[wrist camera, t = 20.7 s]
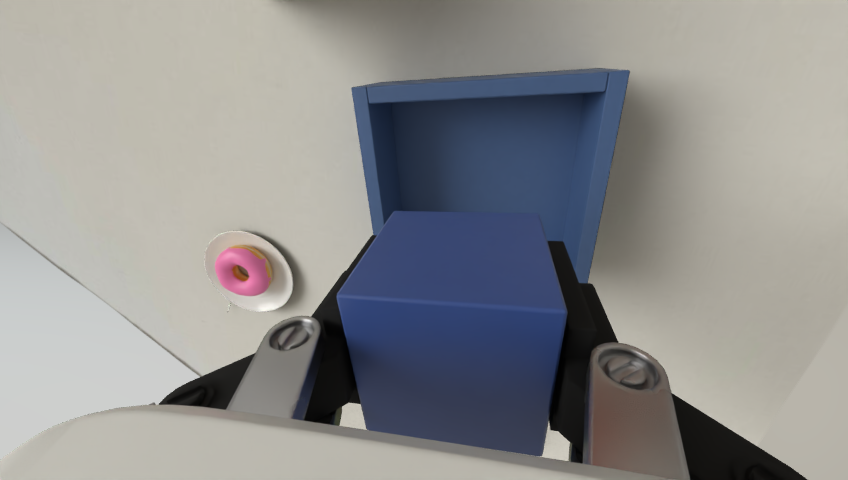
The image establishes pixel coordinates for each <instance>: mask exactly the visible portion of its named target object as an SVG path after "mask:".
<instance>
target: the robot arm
mask: <svg viewBox="0 0 848 480" xmlns="http://www.w3.org/2000/svg"><path fill="white" fill-rule="evenodd" d="M376 236H377V235H372V236H371V237H370V239H369V240H368V241H367V243H366V244H365V246H364V247H363V248H362V250H361V251H360V253H359V254H358V255H357V257H356V258H355V260H354V261H353V262H352V264H351V265H350V267H349V268H348V269H347V271H345V272H344V273H343V274H342V275H341V276H340V278H339V279H338V281H337V282H336V283H335V285H334V286H333V287H332V289H331V290H330V292H329V293H328V294H327V296H326V297H325V298H324V300H323V301H322V303H321V304H320V305H319V307H318V308H317V309H316V311H315V312H314V314H313V315H312V316H311V317H309V316H297V317H291V318H289V319H286V320H283V321H281V322H280V323H278V324H276V325H275V326H273V327H272V328H271V329H270V330H269V331H268V332H267V334H266V335H265V336H264V338H263V340H262V342H261V344H260V346H259V348H258V350H257V352H256V353H254V354H252V355H250V356H248V357H245V358H243V359H241V360H238V361H236V362H234V363H232V364H229V365H227V366H225V367H222V368H220V369H218V370H216V371H213V372H211V373H209V374H206V375H204V376H202V377H200V378H197V379H195V380H193V381H190V382H188V383H186V384H184V385H182V386H181V387H179V388H177V389H175V390H174V391H173V392H172V393H170V394H169V395H167V396H166V397H165V398H164V399H163V400H162V401H161V402H160V403H159V405H156V404H155V403H152V404H149V405H141V406H131V407H122V408H115V409H110V410H105V411H101V412H96V413H92V414H88V415H84V416H81V417H78V418H75V419H72V420H69V421H66V422H64V423H61V424H58V425H55V426H53V427H52V428H49V429H47V430H45V431H43V432H41V433H39V434H38V435H36V436H34V437H33V438H31V439H30V440H28V441H26V442H25V443H23V444H22V445H20V446H19V447H18V448H16V449H15V450H13V451H12V452H11V453H9V454H8V455H6V456H5V457H3V458H2V459H1V460H0V480H807V479H806V478H805V477H803V476H802V475H800V474H799V473H798V472H796V471H795V470H793V469H792V468H791V467H789V466H788V465H786V464H784V463H783V462H781V461H779V460H778V459H776V458H775V457H773V456H772V455H770V454H768V453H767V452H765V451H764V450H762V449H760V448H759V447H757V446H756V445H754V444H752V443H751V442H749V441H748V440H746V439H744V438H743V437H741V436H740V435H738V434H736V433H735V432H733V431H732V430H730V429H728V428H727V427H725V426H723V425H722V424H720V423H719V422H717V421H715V420H714V419H712V418H711V417H709V416H707V415H706V414H704V413H703V412H701V411H699V410H698V409H696V408H695V407H693V406H691V405H690V404H688V403H687V402H685V401H683V400H682V399H680V398H679V397H677V396H675V395H674V394H672V393H671V389H670V385H669V380H668V377H667V374H666V372H665V370H664V368H663V367H662V366H661V365H660V363H659V362H658V361H657V360H656V359H654V358H653V357H652V356H651V355H649V354H648V353H646V352H644V351H642V350H640V349H638V348H637V347H633V346H630V345H627V344H623V343H618V341H617V338H616V336H615V334H614V331H613V329H612V327H611V325H610V322H609V320H608V318H607V315H606V313H605V311H604V308H603V306H602V304H601V302H600V299H599V297H598V295H597V292H596V290H595V288H594V286H593V284H590V283H579V281H578V279H577V276H576V273H575V271H574V268H573V265H572V263H571V260H570V257H569V255H568V252H567V249H566V247H565V244H564V242H563V241H547V242H548V246H549V249H550V253H551V256H552V260H553V263H554V267H555V270H556V273H557V277H558V280H559V284H560V287H561V291H562V294H563V298H564V301H565V305H566V308H567V312H568V313H567V319H566V325H565V330H564V336H563V342H562V347H561V353H560V359H559V364H558V370H557V376H556V381H555V387H554V393H553V398H552V404H551V410H550V415H549V422H550V429H551V430H553V431H559V432H560V433H561V434H562V435H563V436H564V437H565V438H566V439H567V440H568V441H569V442H570V447H569V461H562V460H556V459H549V458H543V457H537V456H531V455H524V454H518V453H512V452H505V451H499V450H493V449H487V448H480V447H474V446H467V445H461V444H454V443H448V442H441V441H435V440H428V439H422V438H415V437H409V436H402V435H396V434H389V433H382V432H376V431H369V430H363V429H356V428H350V427H343V426H339V425H340V419H341V414H342V406H344V405H345V404H347V403H349V402H350V403H357V404H361V403H360V398H359V394H358V389H357V385H356V381H355V376H354V372H353V368H352V363H351V359H350V354H349V350H348V346H347V341H346V337H345V333H344V328H343V324H342V319H341V315H340V311H339V306H338V302H337V293H338V292H339V290H340V289H341V287H342V286H343V285H344V283H345V282H346V280H347V279H348V277H349V276H350V274H351V273H352V271H353V270H354V268H355V267H356V266H357V264H358V263H359V261H360V260H361V258H362V257H363V255H364V254H365V252H366V251H367V250H368V248H369V247H370V245H371V244H372V242H373V241H374V239H375V238H376Z"/></svg>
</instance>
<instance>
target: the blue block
mask: <svg viewBox="0 0 848 480" xmlns="http://www.w3.org/2000/svg"><path fill="white" fill-rule="evenodd" d="M337 302H338V306H339V311H340V315H341V319H342V324H343V328H344V333H345V337H346V341H347V346H348V350H349V354H350V359H351V363H352V368H353V372H354V376H355V381H356V385H357V389H358V394H359V398H360V403H361V407H362V411H363V416H364V420H365V425H366V429H367V430H369V431H376V432H382V433H389V434H396V435H402V436H409V437H415V438H422V439H428V440H435V441H441V442H448V443H454V444H461V445H467V446H474V447H480V448H487V449H493V450H500V451H506V452H513V453H519V454H526V455H533V456H542V454H543V449H544V444H545V438H546V432H547V427H548V421H549V415H550V410H551V404H552V398H553V393H554V387H555V381H556V376H557V370H558V364H559V359H560V353H561V347H562V342H563V336H564V330H565V325H566V319H567V313H568V312H567V308H566V305H565V301H564V298H563V294H562V291H561V287H560V284H559V280H558V277H557V273H556V270H555V267H554V263H553V260H552V256H551V253H550V249H549V246H548V242H547V239H546V235H545V232H544V228H543V225H542V221H541V218H540V215H539V214H537V213H484V212H424V211H394V212H393V213H392V214H391V216H390V217H389V219H388V220H387V222H386V223H385V225H384V226H383V228H382V229H381V231H380V232H379V233H378V235H377V236H376V238H375V239H374V241H373V242H372V244H371V245H370V247H369V248H368V250H367V251H366V252H365V254H364V255H363V257H362V258H361V260H360V261H359V263H358V264H357V266H356V267H355V268H354V270H353V271H352V273H351V274H350V276H349V277H348V279H347V280H346V282H345V283H344V285H343V286H342V287H341V289H340V290H339V292H338V293H337Z"/></svg>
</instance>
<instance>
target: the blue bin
mask: <svg viewBox="0 0 848 480" xmlns="http://www.w3.org/2000/svg"><path fill="white" fill-rule="evenodd" d="M629 73H630V71H629V70H617V69H603V68H595V69H579V70H564V71H548V72H533V73H517V74H502V75H486V76H470V77H455V78H439V79H424V80H408V81H392V82H380V83H374V84H369V85H363V86H358V87H352V95H353V102H354V109H355V115H356V122H357V128H358V135H359V142H360V148H361V155H362V162H363V168H364V175H365V181H366V188H367V195H368V201H369V208H370V215H371V221H372V228H373V234H374V235H378V233H379V232H380V231H381V229H382V228H383V226H384V225H385V223H386V222H387V220H388V219H389V217H390V216H391V214H392V213H393V212H394V211H424V212H484V213H537V214H539V215H540V218H541V221H542V225H543V228H544V232H545V235H546V239H547V241H563V242H564V244H565V247H566V249H567V252H568V255H569V257H570V260H571V263H572V265H573V268H574V271H575V273H576V276H577V279H578V281H579V283H588V278H589V273H590V268H591V263H592V258H593V253H594V248H595V243H596V238H597V233H598V228H599V223H600V218H601V213H602V208H603V203H604V198H605V193H606V188H607V183H608V178H609V173H610V168H611V163H612V158H613V153H614V148H615V143H616V138H617V133H618V128H619V123H620V118H621V113H622V108H623V103H624V98H625V93H626V88H627V83H628V78H629Z"/></svg>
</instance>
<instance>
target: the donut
mask: <svg viewBox="0 0 848 480" xmlns="http://www.w3.org/2000/svg"><path fill="white" fill-rule="evenodd" d="M204 263H205V269H206V272H207V275H208V277H209V279H210V281H211V283H212V284H213V286H214V287H215V288H216V290H217V291H218V292H219V293H220V294H221V295H222V296H223V297H225V298H226V299H227V300H229V301H230V302H231V303H233V304H235V305H237V306H239V307H241V308H244V309H246V310H250V311H254V312H269V311H273V310H276V309H278V308H280V307H282V306H283V305H284V304H285V303H286V302H287V301H288V300H289V298H290V296H291V294H292V291H293V276H292V272H291V269H290V267H289V264H288V263H287V261H286V259H285V258H284V256H283V255H282V254H281V253H280V252H279V251H278V249H277V248H275V247H274V246H273V245H272V244H271V243H269V242H268V241H266V240H265V239H263V238H261V237H259V236H257V235H254V234H252V233H248V232H244V231H228V232H224V233H221V234H219V235H217V236H216V237H214V238H213V239H212V240H211V241H210V243H209V244H208V245H207V248H206V251H205V256H204ZM231 303H230V304H231ZM230 304H229V305H230ZM230 306H231V305H230ZM230 306H228V311H229V309H230ZM228 311H227V312H228Z"/></svg>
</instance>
